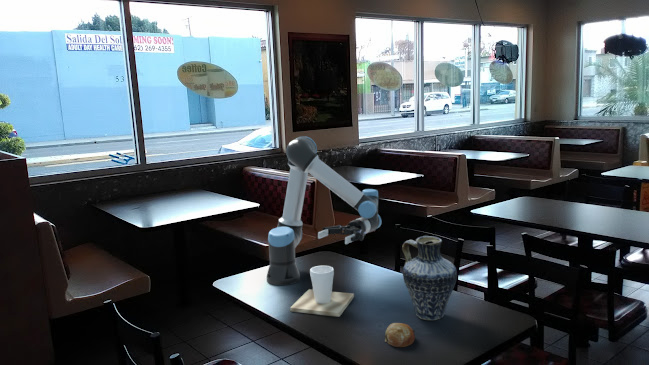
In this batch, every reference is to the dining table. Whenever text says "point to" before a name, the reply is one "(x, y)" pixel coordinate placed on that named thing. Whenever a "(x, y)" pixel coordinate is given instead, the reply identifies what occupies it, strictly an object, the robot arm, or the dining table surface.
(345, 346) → the dining table surface
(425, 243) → the jug
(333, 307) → the serving board
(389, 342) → the bread roll
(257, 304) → the dining table surface
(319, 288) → the foam cup
